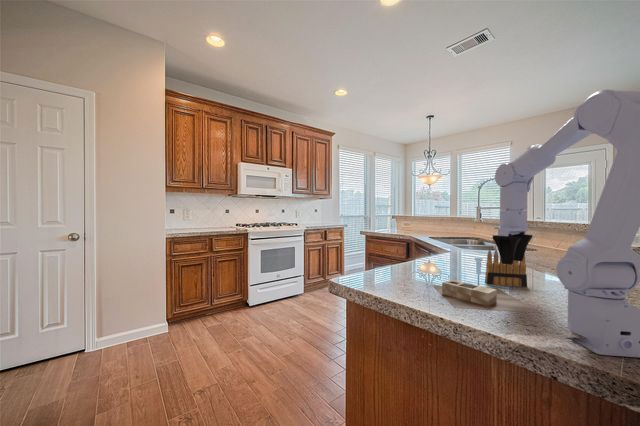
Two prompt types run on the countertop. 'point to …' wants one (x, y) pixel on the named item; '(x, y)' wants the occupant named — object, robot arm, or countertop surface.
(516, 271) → the ammunition clip
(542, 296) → the countertop surface
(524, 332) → the countertop surface
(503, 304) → the post board
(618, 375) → the countertop surface
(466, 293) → the beige rectangular block
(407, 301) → the countertop surface
